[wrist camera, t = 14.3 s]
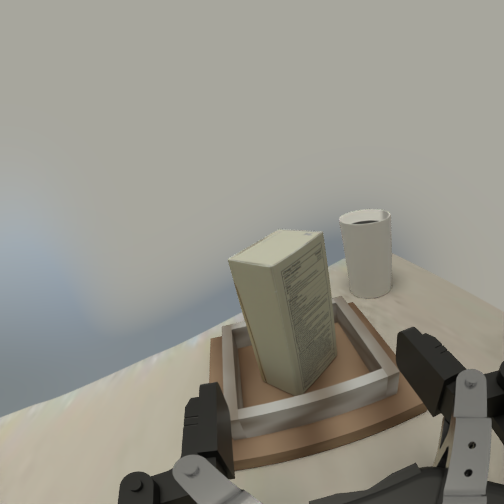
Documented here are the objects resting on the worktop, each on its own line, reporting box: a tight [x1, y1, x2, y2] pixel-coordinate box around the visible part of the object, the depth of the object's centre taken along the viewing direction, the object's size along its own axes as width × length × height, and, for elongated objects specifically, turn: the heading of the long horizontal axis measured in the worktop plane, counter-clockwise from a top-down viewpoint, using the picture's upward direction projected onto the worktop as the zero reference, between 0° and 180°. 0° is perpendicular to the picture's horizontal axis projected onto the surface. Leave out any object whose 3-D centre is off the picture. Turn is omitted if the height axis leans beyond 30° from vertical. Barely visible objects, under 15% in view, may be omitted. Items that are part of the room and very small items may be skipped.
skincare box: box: [228, 229, 337, 396], centre depth 23 cm, size 6×4×12 cm
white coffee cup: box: [339, 209, 392, 299], centre depth 37 cm, size 7×7×10 cm
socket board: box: [209, 296, 427, 471], centre depth 25 cm, size 17×17×4 cm
